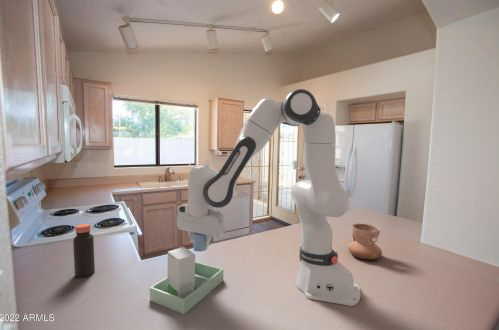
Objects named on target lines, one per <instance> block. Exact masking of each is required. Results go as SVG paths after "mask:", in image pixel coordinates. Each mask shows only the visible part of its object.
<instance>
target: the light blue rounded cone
mask: <svg viewBox="0 0 499 330" xmlns="http://www.w3.org/2000/svg"><path fill="white" fill-rule="evenodd" d="M206 240H207V237H206V235H205V234H200V233H195V232H194V233H193V243H192V244H193V245H192V249H193V251H195V252H204V251H206V250H208V246H205V245H204V241H206Z"/></svg>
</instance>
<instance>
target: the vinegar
mask: <svg viewBox="0 0 499 330" xmlns="http://www.w3.org/2000/svg"><path fill="white" fill-rule="evenodd" d="M90 232H91V224H90V223H82V224H77V225H75V234H76V236H75V237H74V238H73V240H72V243H73V262H74V263H73V265H74V267H73V268H74V277H75V278H77V279H79V278H80V279H82V278H87V277H89V276H92V275H93V274H94V273H95V271H96V270H95V269H96V268H95V266H96V265H95V245H94V244H95V243H94V235H93V234H91V233H90Z"/></svg>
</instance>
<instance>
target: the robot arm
mask: <svg viewBox="0 0 499 330" xmlns="http://www.w3.org/2000/svg"><path fill="white" fill-rule="evenodd" d="M317 102H318V101H317V100H316V98H315V96H314V95H313V94H312V93H311V91H309V90H307V89H303V88H300V89H294V90H291V92H289V93H288V94H287V95H286V97H285V98H284V100H283V101H282V100H281V101H277V100H276V99H274V98H269V97H266V98H263V99H261V100H260V101H259V102H258V103H257V104H256V106H255V107H254V108H253V110H251V112H249V113H250V114H249V115H248V116H247V118H246V120H245V122H244V124H243V125H242V126H241V129H240V132H239V134H238V137H237V139H236V142H235V145H234V148H233V149H232V151H231V153H230V155H229V156H228V158H227V160H225V162H224V164H223V166H222V167H221V169H220V170H219V171H218V170H216V169H214V168H212V166H210V165H208V164H207V165H205V164H204V165H198V166H195V167H192V168H191V169H190V170H189V172H188V178H187V179H188V180H187V191H188V199H187V203H185V204H182V205H181V204H180V205H179V206H177V212H178V213H177V215H176V226H177V229H179V230H181V231H186V232H187V234H188V237H189V239H190V240H189V241H190V243H192V244H193V233H194V232H195V233H200V234H205V235H206V237H207V240H206V241H204V245H205V246H207V247H209V246H210V245H211V240H212V238H213V237H215V238H220V237H222V236H224V234H225V223H224V215H223V213H222V212H221V211H220V210H214V209H213V208H216V209H217V208H218V209H219V208H224V207H226V206H228V205H229V203H230V202H231V201H232V198H233V196H234V195H235V193H236V192H237V188H238V186H237V180H238V178H239V177H240V175H241V173H242V172H243V170H244V169H245V167H246V166H247V164H248V163H249V161H250V160H251V159H253V157H255V155H257V154H258V153H259V152H261V151H262V150H263V148H265V146H266V145H267V144H268V143H269V141H270V140H271V138H272V136H273V135H274V134H275V131H276V130H277V129H278V127H279V126H280V125H281V124H282V125H288V126H291V127H298V126H300V127H301V129H302V131H303V136H304V137H303V160H302V161H303V163H302V164H303V167H304V169H305V170H306V172H307V174H308V176H309V179H305V180H300V181H297V182H295V183H294V184H293V186H292V188H291V192H290V193H291V194H290V195H291V198H292V200H293V202H294V204H295V206H296V209H297V212H298V217H299V222H300V229H301V233H300V234H301V235H300V237H301V241H300V242H301V245H300V247H299V262H300V263H299V270H298V275H297V278H296V281H295V285H296V287H297V288H298V289H299V290H300V291H301V292H302V293H303V294H304V295H305V297H306V298H307V299H309V300H315V301H320V302H321V301H322V302H326V303H333V304H339V305H344V306H349V307H353V306H356V305H357V304H359V302H360V300H361V296H362V295H361V288H360V286H359V285H358V284H357V282H355V281H354V277H353V275H352V272H351V271H350V270H349V269H348V268H347V267H346V266H344V265H343V264H342V263H341V262H340V261H339V254H338V251H334V249H333V234H334V233H333V229H332V228H333V227H332V225H330V222H329V221H328V218H327V217H329V218H339V217H343V216H344V215H345V214H346V212H347V211H348V210H349V207H350V197H349V195H348V193H347V192H346V190H345V189H344V188H343V186H342V184H341V182H340V179H339V176H338V172H337V168H336V142H337V141H336V139H337V138H336V135H337V134H336V127H335V126H336V125H335V121H334V117H333V116H332V115H331V114H329V113H326V112H321V111H322V110H321V108H320V106H319V104H318V103H317Z"/></svg>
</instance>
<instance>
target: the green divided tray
mask: <svg viewBox="0 0 499 330" xmlns="http://www.w3.org/2000/svg"><path fill="white" fill-rule="evenodd" d="M167 281H168V276H166V277H165V278H162V279H161V280H160V281H158V282H156V283H154V284H153V285H152V286H150V287H149V301H150V302H152V303H155V304H158V305H160V306H162V307H166V308H167V309H170V310H172V311H174V312H178V313H180V314H182V315H185V314H187V313H188V312H189V311H190V310H191V309H193V307H195V306H196V305H197V304H198V303H199V302H200V301H202V299H204V298H205V297H206V296H207V295H208V294H210V293H211V292H212V291H213V290H214V289H215V288H216V287H218V286H219V285H220V284H221V283H222V282H224V268H221V267H217V266H214V265H210V264H207V263H206V264H205V263H202V262H198V261H196V260H195V288H196V289H195V290H194V291H193V292H192V293H191V294H189V295H188V296H187V297H186V298H184V299H183V298H180V297H177V296H175V295H172V294H169V293H167Z"/></svg>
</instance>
